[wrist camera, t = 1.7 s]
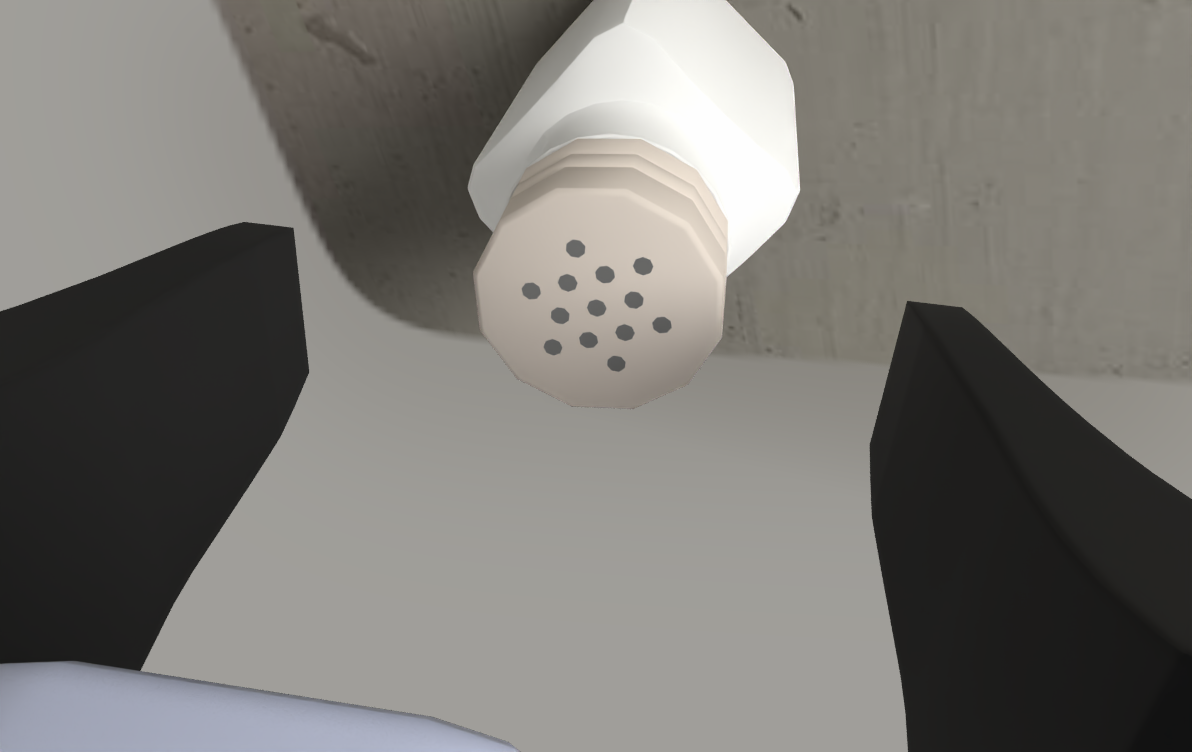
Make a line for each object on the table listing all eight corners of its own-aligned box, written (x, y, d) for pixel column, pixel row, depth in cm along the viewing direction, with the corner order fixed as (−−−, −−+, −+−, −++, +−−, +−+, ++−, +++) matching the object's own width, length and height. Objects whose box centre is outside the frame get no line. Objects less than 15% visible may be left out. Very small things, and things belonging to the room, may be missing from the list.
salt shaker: (664, 206, 22) (606, 486, 14) (523, 75, 21) (378, 301, 13) (806, 74, 20) (829, 313, 13) (659, -78, 19) (585, 82, 11)
